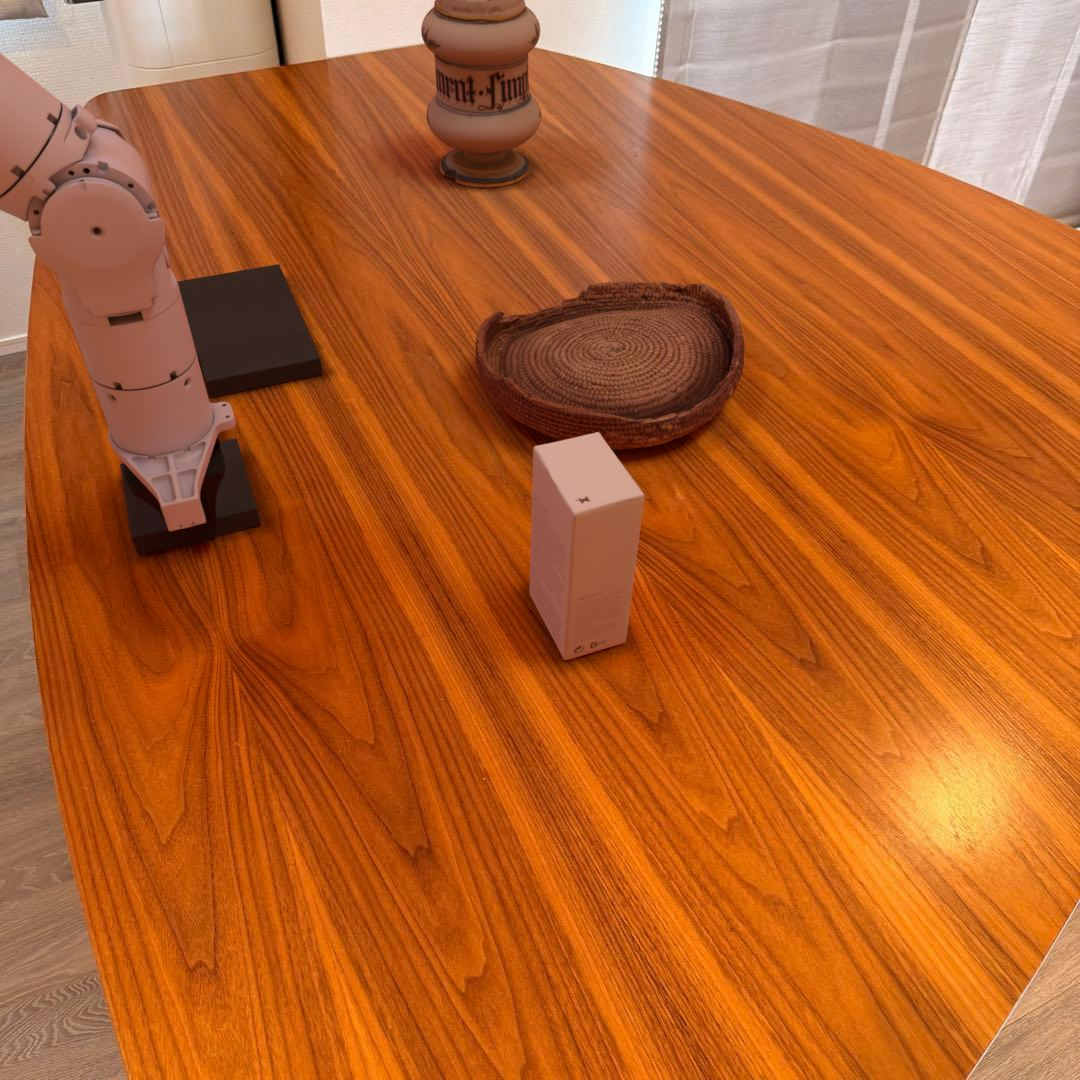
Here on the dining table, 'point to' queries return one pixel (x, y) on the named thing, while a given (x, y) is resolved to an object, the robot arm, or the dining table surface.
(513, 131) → the apothecary jar
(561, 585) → the cosmetic box
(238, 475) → the small pad
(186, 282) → the big pad
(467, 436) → the dining table surface
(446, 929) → the dining table surface
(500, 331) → the basket
